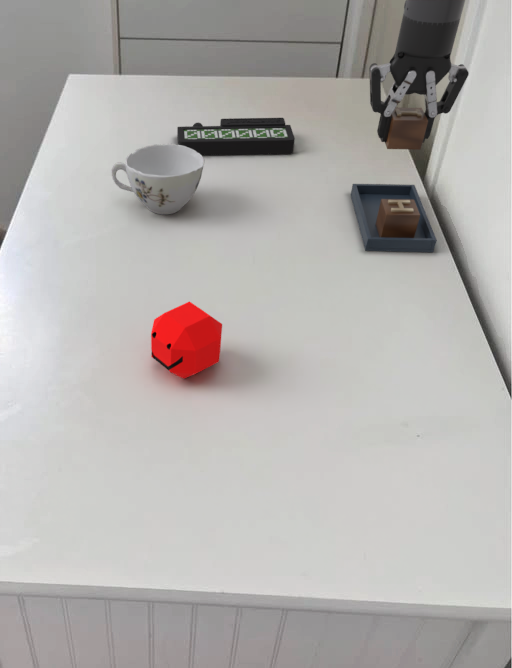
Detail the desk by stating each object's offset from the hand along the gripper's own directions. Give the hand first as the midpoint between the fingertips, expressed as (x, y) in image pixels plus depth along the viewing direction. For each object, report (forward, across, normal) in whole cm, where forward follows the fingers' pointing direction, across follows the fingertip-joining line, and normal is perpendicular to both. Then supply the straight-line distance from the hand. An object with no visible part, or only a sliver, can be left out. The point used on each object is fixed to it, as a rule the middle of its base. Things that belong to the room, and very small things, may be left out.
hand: (401, 139), depth 110 cm
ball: (+11, -32, -42) cm, 54 cm away
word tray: (+11, 0, -4) cm, 12 cm away
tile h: (+11, 0, -8) cm, 14 cm away
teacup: (+11, -38, 0) cm, 39 cm away
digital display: (+11, -24, +25) cm, 37 cm away
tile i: (0, 0, 0) cm, 0 cm away
